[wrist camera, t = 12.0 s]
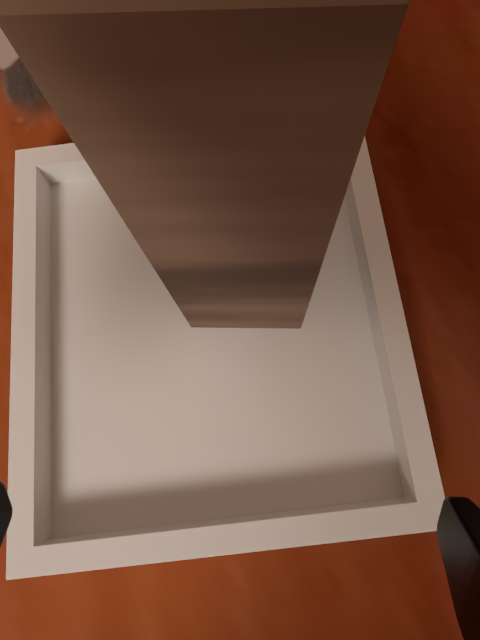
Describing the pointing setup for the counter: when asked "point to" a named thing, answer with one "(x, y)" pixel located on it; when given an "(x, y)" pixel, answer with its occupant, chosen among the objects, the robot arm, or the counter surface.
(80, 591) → the counter surface
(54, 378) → the tray
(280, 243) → the walnut block
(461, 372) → the counter surface
